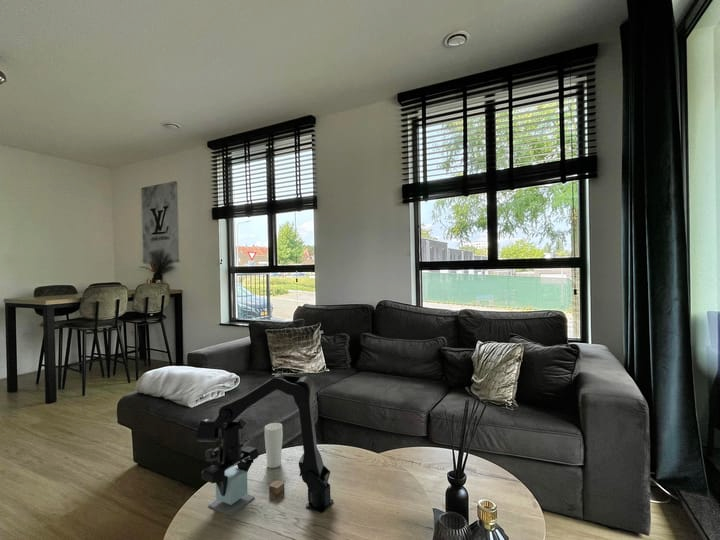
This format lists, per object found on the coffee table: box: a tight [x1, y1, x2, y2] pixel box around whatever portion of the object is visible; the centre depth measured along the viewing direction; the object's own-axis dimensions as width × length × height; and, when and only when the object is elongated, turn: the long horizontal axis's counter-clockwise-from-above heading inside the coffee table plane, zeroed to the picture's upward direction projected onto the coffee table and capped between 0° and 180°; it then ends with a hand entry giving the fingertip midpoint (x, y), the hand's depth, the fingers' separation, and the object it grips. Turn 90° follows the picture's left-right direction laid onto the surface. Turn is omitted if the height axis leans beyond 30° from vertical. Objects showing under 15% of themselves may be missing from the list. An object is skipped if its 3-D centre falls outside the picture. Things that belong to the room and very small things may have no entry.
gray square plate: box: [208, 493, 256, 517], centre depth 118 cm, size 10×10×1 cm
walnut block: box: [268, 479, 285, 500], centre depth 121 cm, size 4×4×4 cm
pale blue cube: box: [215, 466, 249, 505], centre depth 118 cm, size 7×7×7 cm
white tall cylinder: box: [264, 422, 284, 469], centre depth 141 cm, size 7×7×15 cm
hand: (232, 489), depth 118 cm, fingers closed on pale blue cube, 7 cm apart
